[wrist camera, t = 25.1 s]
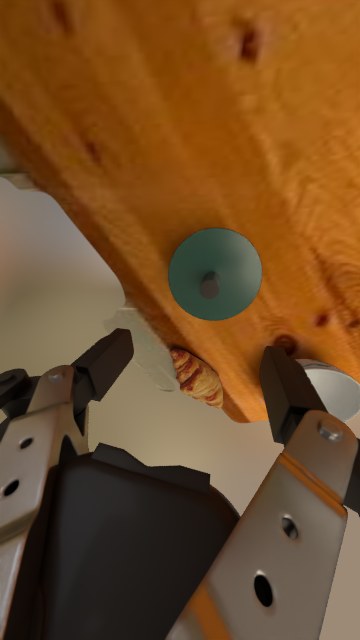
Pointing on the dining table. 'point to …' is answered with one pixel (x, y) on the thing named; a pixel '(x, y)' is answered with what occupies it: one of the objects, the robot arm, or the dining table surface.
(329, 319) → the dining table surface
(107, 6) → the dining table surface
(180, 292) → the lid
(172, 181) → the dining table surface
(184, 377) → the croissant
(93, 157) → the dining table surface
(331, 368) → the chinaware
